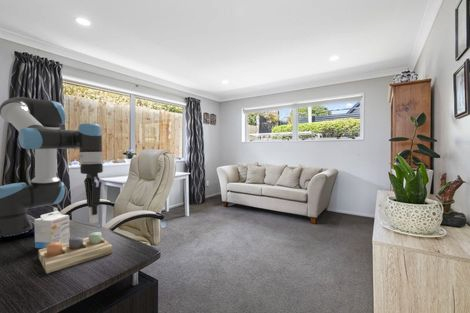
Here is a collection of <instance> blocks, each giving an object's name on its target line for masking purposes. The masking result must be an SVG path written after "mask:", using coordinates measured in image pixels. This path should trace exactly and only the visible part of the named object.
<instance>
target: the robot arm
mask: <svg viewBox="0 0 470 313" xmlns="http://www.w3.org/2000/svg"><path fill="white" fill-rule="evenodd" d="M66 116H67V114H66V111H65V109H64V106H63V105H62V104H61V103H60V102H58V101H54V100H48V99H40V98H39V99H38V98H32V97H25V96H16V97H12V98H8V99H6V100H4V101H3V102H2V103H1V104H0V117H1V118H2V119H3V120H4V121H5V122H7V123H9V124H11V125H12V126H13V127H14V128H15V129H16V130H17V131H18V143H19V146H20V147H21V148H22V149H25V150H27V149H28V150H34V177H33V178H32V179H31V182H30V184H28V185H27V183H26V182H15V183H9V184H4V185H1V186H0V238H1V236H3V235H12V234H18V233H22V232H26V231H29V230H30V229H32V228H33V223H32V221H31V220H30V218H29V215H28V210H29V209H35V208H40V207H45V206H53V205H56V204H60V203H61V202H62V201H63V199H64V198H65V197H64V196H65V194H66V193H65V192H66V190H65V189H66V188H65V183H64V182H63V181H61V179H60V178H59V177H57V165H58V164H57V162H58V160H57V159H58V158H57V157H58V156H57V155H58V154H57V152H58V150H59V149H60V150H64V149H65V150H69V149H70V150H79V155H78V156H77V157H78V158H79V162H80V163H81V164H80V166H79V168H80V174H82V175H86V176H85V177H86V178H85V179H84V180H83V183H84V189H85V197H86V204H87V205H88V206H87V207H88V217H89V224H95V223H99V206H100V205H101V204H100V202H101V186H102V181H100V177H99V174H101V173H103V172H104V165H103V159H104V158H103V143H102V142H103V141H102V140H103V137H102V136H103V133H102V127H101V125H100V124H99V123H86V122H85V123H84V122H83V123H80V124H79V125H78V129H76V130H75V129H73V130H71V129H61V126H62V125H64V124H65V123H66V120H67V119H66V118H67V117H66Z"/></svg>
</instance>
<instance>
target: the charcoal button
mask: <svg viewBox="0 0 470 313" xmlns="http://www.w3.org/2000/svg"><path fill="white" fill-rule="evenodd" d="M83 238H84V237H83V236H74V237H73V236H72V237H70V239H69V249H71V250H73V249H78V248H81V247H83Z"/></svg>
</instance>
